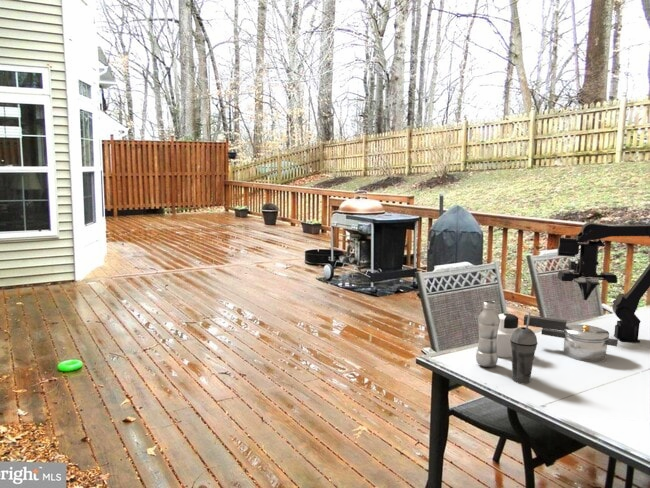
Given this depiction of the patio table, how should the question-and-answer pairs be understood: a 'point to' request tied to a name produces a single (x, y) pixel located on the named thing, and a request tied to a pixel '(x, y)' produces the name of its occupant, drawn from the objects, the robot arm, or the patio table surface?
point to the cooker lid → (568, 328)
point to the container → (506, 334)
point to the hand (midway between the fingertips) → (584, 300)
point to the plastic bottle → (488, 335)
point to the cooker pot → (582, 346)
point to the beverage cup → (523, 353)
